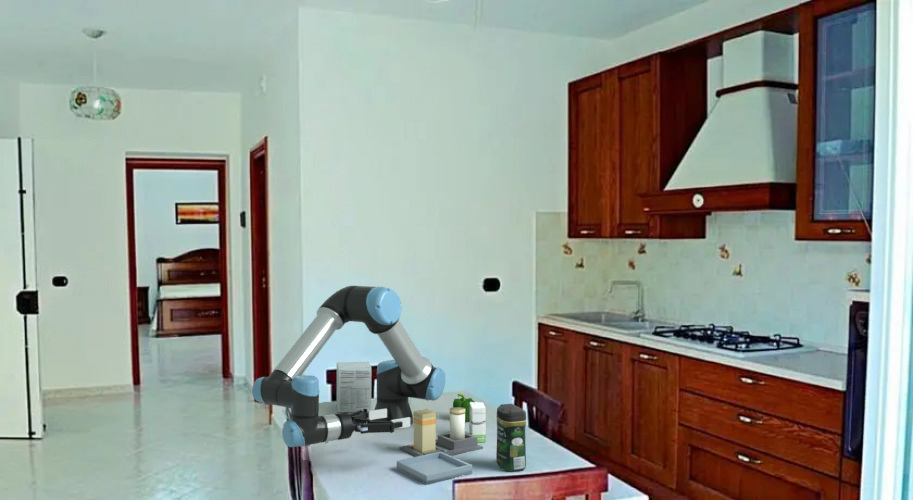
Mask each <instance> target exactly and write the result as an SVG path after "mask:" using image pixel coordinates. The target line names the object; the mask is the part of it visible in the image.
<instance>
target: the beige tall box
mask: <svg viewBox="0 0 913 500" xmlns="http://www.w3.org/2000/svg"><path fill="white" fill-rule="evenodd" d="M412 415H413V444H414V447H413V450H416V451H418V452H420V453H422V454H423V453H425V452H429V451H434V450H436V448H435V440H436V435H437V433H436V430H437V429H436V426H437V425H436V424H437V419H436V418H437V411H433V410H431V409H428V408H426V409H420V410H414V411H413V412H412Z"/></svg>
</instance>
